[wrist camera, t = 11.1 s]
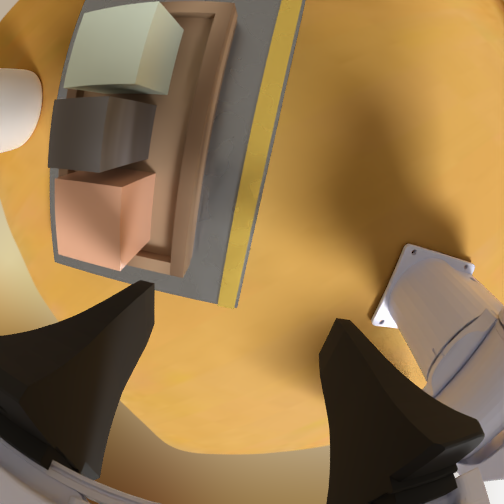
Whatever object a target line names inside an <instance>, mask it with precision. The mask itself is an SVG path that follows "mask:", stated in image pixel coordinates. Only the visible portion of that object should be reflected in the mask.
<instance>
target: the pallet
mask: <svg viewBox="0 0 504 504" xmlns="http://www.w3.org/2000/svg"><path fill="white" fill-rule="evenodd" d="M160 3H161V4H162V5H163V6H164V7H165V9H166V10H167V11H168V12H169V13H170V14H171V15H172V17H173V18H174V19H175V20H176V21H177V22H178V24H179V25H180V26H181V27H182V28H183V30H184V31H183V35H182V38H181V42H180V45H179V49H178V53H177V56H176V60H175V64H174V68H173V73H172V77H171V81H170V86H169V91H168V95H159V94H103V93H97V92H90V91H83V90H76V89H68V91H67V96H66V99H57V100H55V101H54V107H53V114H52V121H51V130H50V141H49V155H48V168H57V169H59V175H58V177H61V176H64V175H67V174H70V173H74V172H77V171H88V172H97V173H101V172H104V171H107V170H110V169H114V168H122V169H130V170H137V171H145V172H152V173H156V176H155V185H154V195H153V205H152V218H151V232H150V240H149V241H148V243H147V244H146V245H145V246H144V247H143V248H142V249H141V250H140V251H139V252H138V253H137V254H136V255H135V256H134V257H133V258H132V259H131V260H130V261H129V262H128V264H127V265H129V266H133V267H137V268H141V269H145V270H150V271H154V272H158V273H162V274H167V275H171V276H176V277H180V278H183V277H184V275H185V273H186V271H187V269H188V267H189V265H190V260H191V258H192V254H193V246H194V238H195V231H196V223H197V216H198V209H199V203H200V196H201V190H202V183H203V177H204V171H205V165H206V160H207V154H208V149H209V143H210V138H211V133H212V128H213V123H214V118H215V113H216V108H217V103H218V99H219V94H220V90H221V85H222V81H223V77H224V72H225V68H226V64H227V60H228V56H229V52H230V48H231V44H232V40H233V37H234V33H235V29H236V26H237V17H238V15H237V11H236V6H235V3H229V2H213V1H171V2H160Z"/></svg>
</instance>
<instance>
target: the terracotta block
mask: <svg viewBox="0 0 504 504" xmlns="http://www.w3.org/2000/svg"><path fill="white" fill-rule="evenodd" d="M155 176H156V173H152V172H145V171H137V170H130V169H122V168H114V169H110V170H107V171H104V172H101V173H97V172H88V171H77V172H74V173H70V174H67V175H64V176H61V177H58V178H55V219H56V234H57V245H58V254H60V255H63V256H66V257H70V258H73V259H77V260H80V261H84V262H88V263H91V264H95V265H98V266H102V267H106V268H110V269H114V270H117V271H121V270H122V269H123V268H124V267H125V266H126V265H127V264H128V262H129V261H130V260H131V259H132V258H133V257H134V256H135V255H136V254H137V253H138V252H139V251H140V250H141V249H142V248H143V247H144V246H145V245H146V244H147V243H148V241H149V240H150V232H151V218H152V205H153V195H154V185H155Z"/></svg>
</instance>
